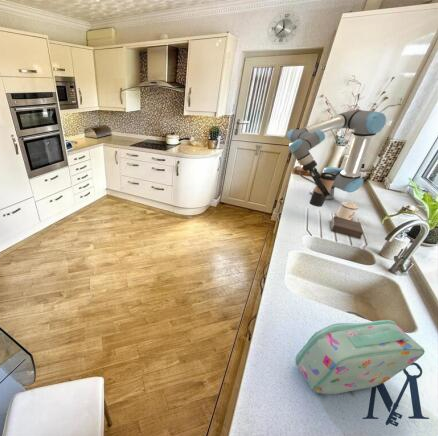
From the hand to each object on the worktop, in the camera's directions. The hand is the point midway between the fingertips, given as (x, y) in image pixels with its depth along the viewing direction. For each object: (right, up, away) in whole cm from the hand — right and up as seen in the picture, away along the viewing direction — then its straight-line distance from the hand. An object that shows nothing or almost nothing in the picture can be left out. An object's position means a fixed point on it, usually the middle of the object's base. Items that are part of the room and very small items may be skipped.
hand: (327, 193), depth 144 cm
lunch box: (-55, -63, -74) cm, 112 cm away
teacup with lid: (+22, -14, +14) cm, 30 cm away
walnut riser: (+10, -22, -1) cm, 25 cm away
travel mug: (-3, -7, +6) cm, 9 cm away
